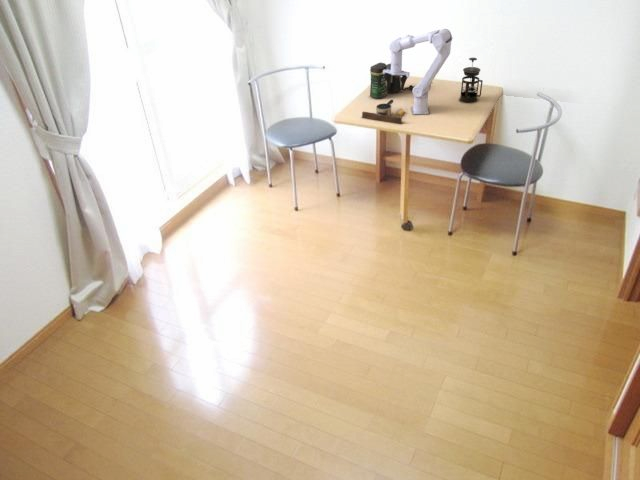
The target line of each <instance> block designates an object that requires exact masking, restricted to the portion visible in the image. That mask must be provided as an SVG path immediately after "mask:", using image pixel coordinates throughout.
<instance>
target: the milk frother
mask: <svg viewBox="0 0 640 480" xmlns="http://www.w3.org/2000/svg"><path fill="white" fill-rule="evenodd" d="M386 65H387V70H391V63H387V64H386ZM401 77H402V76H399V75H391V86H390V88H388V86H387V82H386V93H389V94H399V93H401V91H406V90H409V91H413V88H414V87H415V86H416V85H412V84H410V85H408V86H406V87H404V89H403V90H401Z"/></svg>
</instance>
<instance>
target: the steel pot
mask: <svg viewBox="0 0 640 480" xmlns="http://www.w3.org/2000/svg"><path fill="white" fill-rule="evenodd" d="M393 103H394V99H389V100H388V102H387V103H379V104H377V105H376V106H375V109H376V110H375V113H376V114H382V115H389V116H392V110H393V109H392V107H393V106H392V104H393Z"/></svg>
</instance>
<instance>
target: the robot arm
mask: <svg viewBox="0 0 640 480" xmlns="http://www.w3.org/2000/svg"><path fill="white" fill-rule="evenodd" d="M452 41H453V36H452V32H451V30H450V29H448V28H443V29H437V30H432V31H429V32H426V33H423V34H420V35H417V36H414V35H410V34H406V36H405V37H398V38H396V39H394V40H392V41H391V42H390V43H389V46H388V47H389V50H390V64H391V70H386V69H384V70H383V74H385V75H384V78H385V80H386V82H387V86H388V88H390V86H391V75H399V76H401V91H404V90H403V89H404V88H405V85H406V82H407V79H408V78H409V77H410V74H411V73H410V72H408V71H405V70H402V68H403V67H402V66H403V51H405V50H407V49H412V48H415V46H416V45H417V44H421V43H426V42H428V43H429V44H432V45H433V47H434V49H435V50H436V51H437V55H436V56H435V58H434V59H433V61H432V63H431V64H430V66H429V68H428V69H427V70H426V72H425V73H424V76H423V77H422V78H421V80H420V81H419V82H418V83H417V84H416V85H414V86H415V87H414V88H413V89H412V95H413V96H414V97H413V106H411V107H412V108H411V109H412V114H413V115H429V114H430V113H429V108H428V105H429V92H430V91H431V88H432V84H433V81H434V80H435V78H436V76H437V75H438V73H439V71H440V70H441V68H442V67H443V65H444V64H445V62H446V61H447V59H448V58H449V56H450V54H451V50H452V48H451V47H452Z"/></svg>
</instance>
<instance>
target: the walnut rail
mask: <svg viewBox="0 0 640 480" xmlns="http://www.w3.org/2000/svg"><path fill="white" fill-rule="evenodd" d="M361 117H362V119H366V120H367V119H368V120H372V121H373V120H374V121H379V122H386V123H391V124H398V125H401V124H402V123H403V122H402V121H403V120H402V119H403V118H402V116H401V117H396V116H393V115H391V116H389V115H382V114H376V112H370V111H362V112H361Z"/></svg>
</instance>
